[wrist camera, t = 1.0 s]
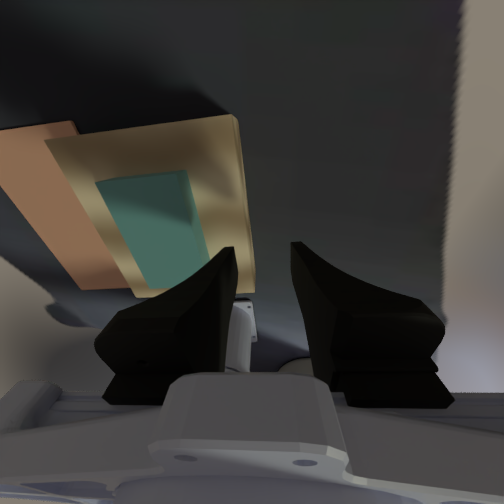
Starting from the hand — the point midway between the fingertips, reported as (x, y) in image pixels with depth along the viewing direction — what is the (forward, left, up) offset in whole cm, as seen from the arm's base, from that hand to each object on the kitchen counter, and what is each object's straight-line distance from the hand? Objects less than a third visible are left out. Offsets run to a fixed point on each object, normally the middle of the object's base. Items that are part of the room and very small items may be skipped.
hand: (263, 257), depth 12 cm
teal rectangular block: (0, +9, -5) cm, 10 cm away
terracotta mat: (0, +22, -9) cm, 23 cm away
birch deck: (0, +9, -9) cm, 13 cm away
